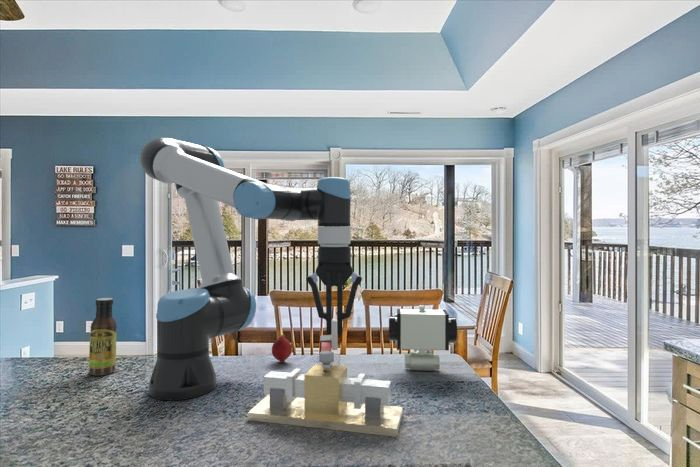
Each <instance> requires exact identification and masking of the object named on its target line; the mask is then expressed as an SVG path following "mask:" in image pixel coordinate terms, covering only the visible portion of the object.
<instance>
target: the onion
mask: <svg viewBox="0 0 700 467" xmlns="http://www.w3.org/2000/svg"><path fill="white" fill-rule="evenodd" d="M285 336H286V335H285V334H281V335H280V336H279V338H277V339H275V341H274V342H273V343H272V345H271V354H272V356H273V357H274V359H275V360H277V361H279V362H280V363H284V362H286V360H287V359H288V358H290V356H291V355H292V353H293V352H292V351H293V346H292V343H291V342H290V341H289V339H287V338H286V337H285Z"/></svg>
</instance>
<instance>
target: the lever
mask: <svg viewBox="0 0 700 467" xmlns="http://www.w3.org/2000/svg"><path fill="white" fill-rule="evenodd" d="M319 336H320V338H319V345H320V346H319V347H320V348H319V349H321V351H319V353H318V362H319V363H320V364H323V363H330V364H331V363H333V362H335V360H334V359H335V353H334V351H333V350H332V345H331V334H325V335H324V334H323V335H322V334H321V335H319Z"/></svg>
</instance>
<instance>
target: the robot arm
mask: <svg viewBox="0 0 700 467" xmlns="http://www.w3.org/2000/svg"><path fill="white" fill-rule="evenodd" d="M139 163H140V166H141V169H142V171H143V172H144V173H145V174H146V175H147V176H148V177H150V178H152V179H154V180H156V181H159V182H161V183H163V184H170V185H171V184H175V188H176V193H177V195H178V196H180V197H182V198H183V199H184V201H185V208H186V212H187V217H188V220H189V227H190V231H191V235H192V240H193V245H194V249H195V255H196V258H197V262H198V267H199V272H200V273H199V274H200V276H201V281H202V282H201V283H200V285H199V286H198V287H197V288H196V287H193V288H186V289H179V290H175V291H171V292H168V293H166V294H163V295H162V296H161V297H160V298H159V299H158V302H157V306H156V308H157V309H156V314H155V318H156V328H157V329H156V332H157V333H156V351H157V352H156V361H155V364H154V367H153V371H152V373H151V377H150V380H149V383H148V395H149V397H151V398H153V399H156V400H160V401H180V400H188V399H194V398H197V397H200V396H204V395H206V394H207V393H210V392H211V391H213V390H214V389H216V387H217V374H216V371H215V369H214V366H213V362H212V358H211V357H210V352H209V351H210V349H209V348H210V339H214V338H217V337H221V336H224V335H227V334H228V335H229V334H233V333H236V332H238V331H240V330H243V329H245V328H246V327H248V326H249V325H251V323H252V322H253V319H254V317H255V316H256V311H257V302H256V301H257V300H256V297H255V294H254V293H253V292H252V291H251V290H250V288H247V287H245V286H244V284H243V280H242V278H241V277H240V276H238V275H236V274H235V270H234V266H233V262H232V258H231V253H230V249H229V244H228V240H227V236H226V231H225V227H224V222H223V218H222V214H221V209H220V205H219V202H220V203H223V204H225V205H228V206H229V207H232V208H234V209H235V210H236V211H237V213H238V214H239V215H240V216H242V217H243V218H250V219H254V220H261V219H262V220H281V221H286V222H287V221H288V222H289V221H291V222H295V221H313V220H314V221H317V244H318V245H320V246H318V248H317V266H316V268H315V272H314V273H312V274H310V275H308V276H307V277H306V282H307V283H308V284H309V286H310V288H311V292H312V296H313V300H314V304H315V308H316V310H317V315H318V316H317V317H318V318H320V319H323V320H325V321H326V326H325V328H326V329H325V330H326V331H325V332H326V335H331V345H332V348H331V351H338V344H339V343H338V339H339V338H338V335H342V334H343V321H344V320H345V319H348V318H350V317H351V315H352V311H353V306H354V302H355V298H356V294H357V290H358V286H359V285H360V284H361V282H362V281H363V277H362V276H361V275H359V274H357V273H356V272H354V269H353V267H352V264H351V262H352V261H351V260H352V256H351V254H352V252H351V251H352V250H351V248H352V247H351V246H349V245H350V244H351V242H352V240H351V238H352V237H351V236H352V232H351V231H352V230H351V229H352V228H351V205H352V204H351V203H352V202H351V200H352V194H351V182H350V181H349V179H347V178H345V177H339V176H338V177H337V176H335V177H334V176H328V177H320V178H319V179H318V181H317V185H316V187H314V188H312V187H311V188H296V187H289V186H283V185H275V184H271V183H266V182H264V181H261V180H259V179H258V180H257V179H254V178H252V177H249V176H247V175H244V174H242V173H238V172H236V171H234V170H231V169H228V168H225V164H224V163H225V162H224V160H223V158H222V156H221V155H220V153H218V152H217V151H216V150H215V149H213V148H211V147H208V146H206V145H204V144H199V143H197V144H196V143H192V142H187V141H183V140H179V139H174V138H170V137H157V138H154V139H152V140H150V141H148V142H146V144H145V145H143V147H142V149H141V152H140V156H139ZM350 277H351V280H350V281H351V284H352V285H351V287H350V292H349V295H348V299H347V303H346V308H345V311H343V297H344V296H343V293H344V292H343V286H345V285H346V283H347V282H348V281H349V279H350ZM318 279H320V281H321V282H322V284H323V285H325V307H326V308H325V310H324V307H323V302H322V298H321V294H320V292H319V290H320V289H319V287H318V285H317V284H318V283H317V282H319V281H318ZM333 287H336V294H337V295H336V298H337V299H336V306H337V308H336V318H333V299H332V298H333V296H332V293H333V292H332V291H333V290H332V288H333ZM325 311H326V312H325Z"/></svg>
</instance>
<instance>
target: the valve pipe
mask: <svg viewBox="0 0 700 467" xmlns="http://www.w3.org/2000/svg"><path fill="white" fill-rule="evenodd" d="M263 394H264V395H266V396H264V398H262V399H261V400H259V402H258V403H257V404H255V405H254V406H253V407H252V408H251V409H250V410H249V411H248V412H247V421H252V422H255V421H256V422H262V423H269V424H270V423H271V424H278V425H279V424H281V425H287V426H288V425H289V426H297V427H306V428H315V429H325V430H331V431H341V432H351V433H358V434H359V433H360V434H368V435H378V436H386V437H395V438H397V437H398V433H399V430H400V425H401V421H402V419H403V415H402V414H403V412H404V411H403V410H404V409H403V408H404V407H403V406H396V405H390V402H391V400H392V381H391V380H380V379H369V378H366V373H359V374H358V375H357V377H348V366H345V365H331V363H322V364H321V363H319V364H316V363H315V364H313V366H312V367H311V368H310V369H308V370H307V372H306V373H302V368H297V367H296V368H294V369H293V370H292V371H291V372H284V371H269V372H268V373H266V374H265V375H264V376H263Z"/></svg>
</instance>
